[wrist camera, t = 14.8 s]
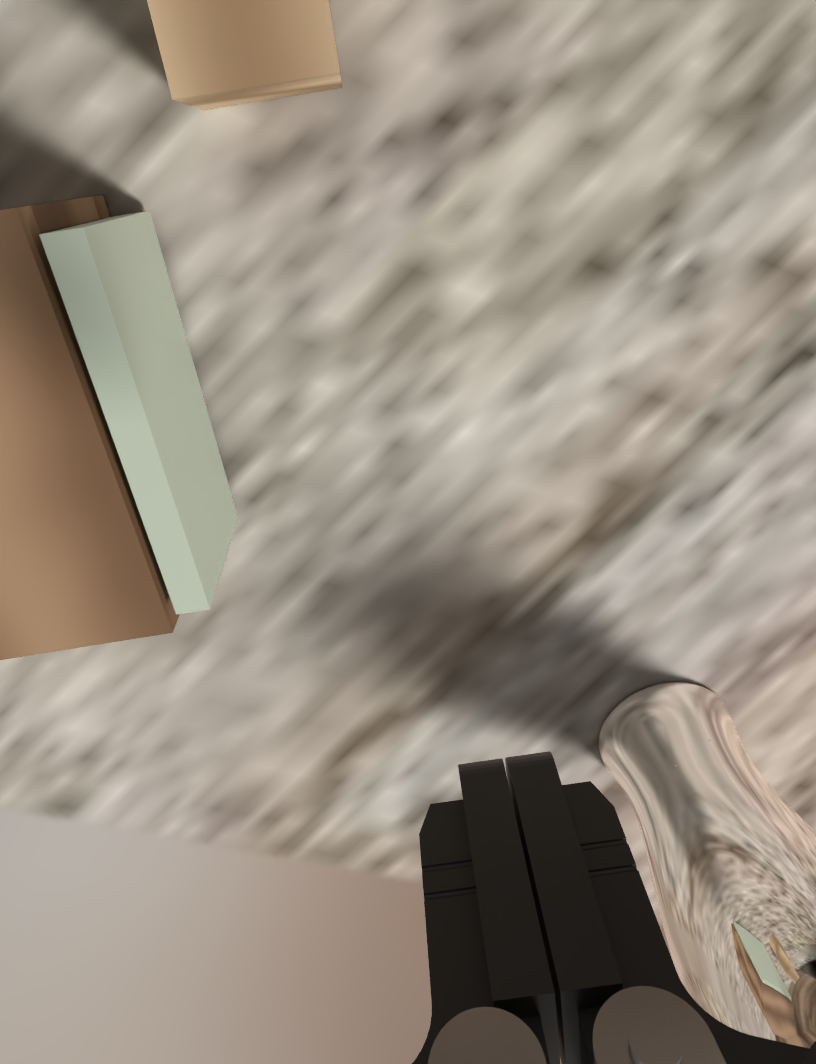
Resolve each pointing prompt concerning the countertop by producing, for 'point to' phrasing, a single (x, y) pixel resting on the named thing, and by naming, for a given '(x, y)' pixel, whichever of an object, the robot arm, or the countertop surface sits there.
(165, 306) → the tray
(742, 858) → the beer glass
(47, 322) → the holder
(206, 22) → the oak block
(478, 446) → the countertop surface
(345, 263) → the countertop surface
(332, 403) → the countertop surface
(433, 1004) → the robot arm
